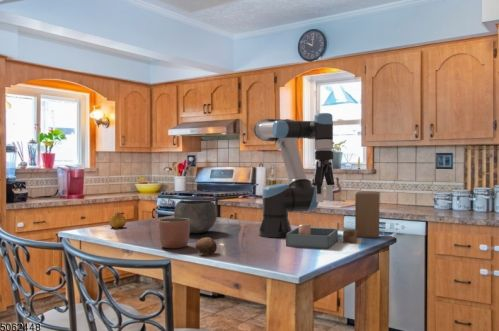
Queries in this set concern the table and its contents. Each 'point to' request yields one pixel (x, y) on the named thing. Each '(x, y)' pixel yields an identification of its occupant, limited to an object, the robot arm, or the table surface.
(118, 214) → the fruit
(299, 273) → the table surface
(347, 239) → the walnut cube
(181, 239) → the planter
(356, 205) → the wooden block
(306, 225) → the peach colored egg
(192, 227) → the bowl
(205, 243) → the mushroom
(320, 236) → the tote
